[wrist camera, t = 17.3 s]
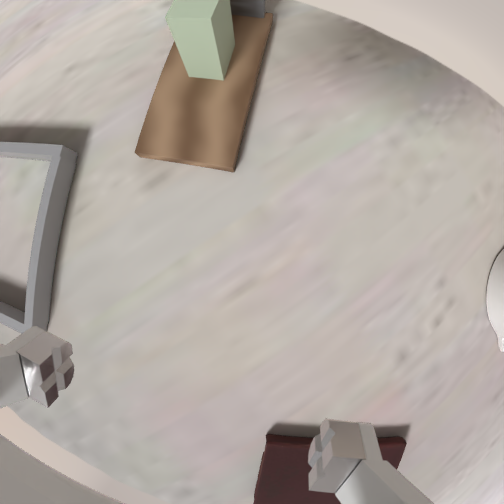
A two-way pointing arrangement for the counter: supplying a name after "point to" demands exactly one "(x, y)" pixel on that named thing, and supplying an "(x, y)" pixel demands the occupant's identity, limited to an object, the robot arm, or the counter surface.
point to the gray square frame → (41, 232)
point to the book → (302, 470)
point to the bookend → (207, 100)
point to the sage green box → (203, 36)
